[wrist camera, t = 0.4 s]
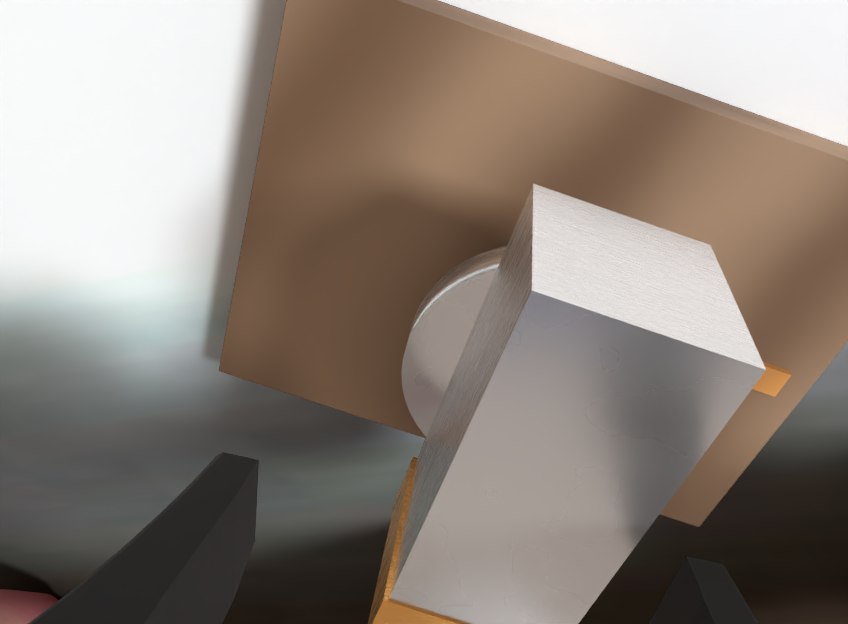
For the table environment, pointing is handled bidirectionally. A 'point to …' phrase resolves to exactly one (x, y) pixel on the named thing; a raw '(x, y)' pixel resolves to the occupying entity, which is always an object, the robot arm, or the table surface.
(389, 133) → the mount plate
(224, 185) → the table surface
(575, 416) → the grey and orange block
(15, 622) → the decorative fruit
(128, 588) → the robot arm
